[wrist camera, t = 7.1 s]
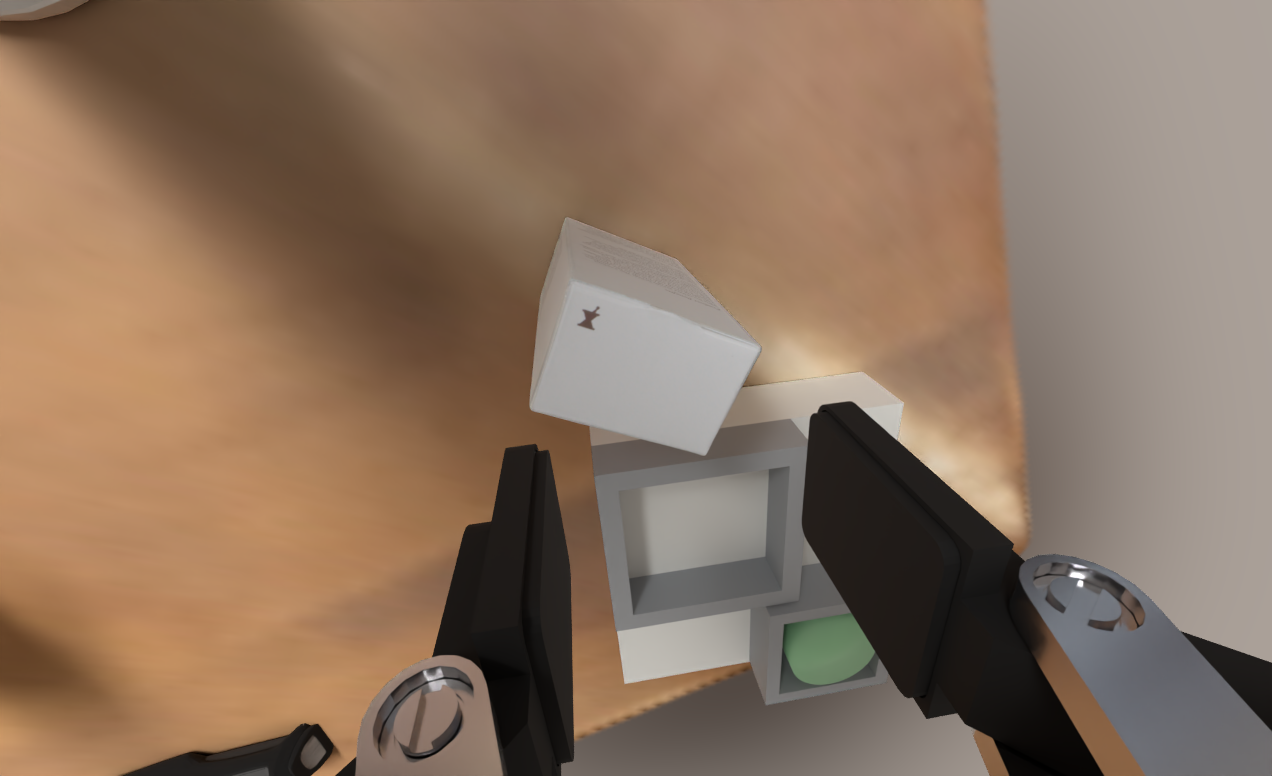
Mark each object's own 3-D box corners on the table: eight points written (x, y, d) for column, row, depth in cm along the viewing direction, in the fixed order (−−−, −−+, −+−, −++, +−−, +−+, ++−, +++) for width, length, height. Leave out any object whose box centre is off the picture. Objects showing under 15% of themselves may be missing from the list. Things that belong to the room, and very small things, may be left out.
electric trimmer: (95, 761, 36) (54, 814, 33) (316, 715, 36) (294, 764, 34) (128, 789, 38) (91, 842, 35) (338, 745, 38) (319, 794, 35)
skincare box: (538, 298, 25) (520, 412, 15) (565, 214, 24) (567, 271, 13) (650, 335, 27) (707, 462, 16) (682, 259, 25) (769, 342, 15)
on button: (775, 593, 30) (794, 632, 28) (856, 579, 30) (881, 617, 28) (772, 650, 32) (789, 691, 30) (847, 636, 33) (870, 676, 30)
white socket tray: (587, 407, 28) (594, 482, 22) (862, 371, 30) (943, 432, 23) (618, 630, 36) (630, 732, 30) (834, 594, 37) (888, 684, 31)
